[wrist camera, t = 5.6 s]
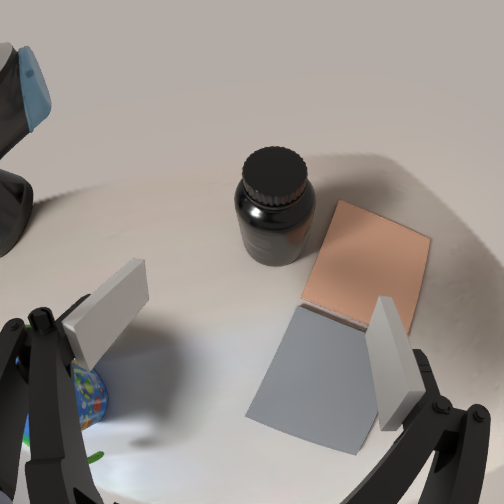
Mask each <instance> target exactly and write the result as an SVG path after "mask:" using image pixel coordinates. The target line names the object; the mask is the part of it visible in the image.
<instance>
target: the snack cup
mask: <svg viewBox="0 0 504 504" xmlns="http://www.w3.org/2000/svg"><path fill="white" fill-rule="evenodd" d="M25 326H26V327H28V328H32V327H31V325H25ZM17 361H18V359H17V358H16V363H17ZM71 363H72V366H73V374H74V384H75V393H76V401H77V408H78V415H79V421H80V427H81V431H82V430H84V429H86V428H88V427H90V426H91V425H93V424H95V423H97V422H98V421H100V419H101V418H102V416H103V415H104V413H105V411H106V408H107V401H108V394H107V393H106V390H105V385H104V383H103V381H102V380H101V378H100V377H99V375H98V374H97V373H96V371H95V370H94V369H92V370H91V371H88V370H86V369H83V368H81V367H79V366H78V364H77V362H76V360H74V359H73V360H72V362H71ZM22 442H24V443H25V444H26V445H28V446H30V440H29V420H28V415H27V420H26V424H25V429H24V434H23V440H22ZM103 455H104V452H101V451H100V452H97V453H95V454H93V455H92V456H90V457H87V460H88V464H91V463H93V462H95V461H97V460H99V459H100V458H102V457H103Z"/></svg>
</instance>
